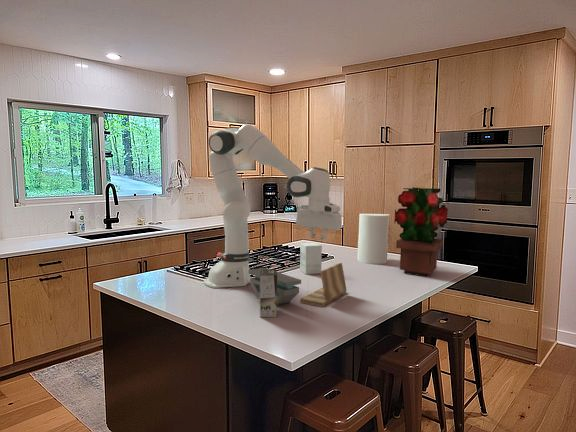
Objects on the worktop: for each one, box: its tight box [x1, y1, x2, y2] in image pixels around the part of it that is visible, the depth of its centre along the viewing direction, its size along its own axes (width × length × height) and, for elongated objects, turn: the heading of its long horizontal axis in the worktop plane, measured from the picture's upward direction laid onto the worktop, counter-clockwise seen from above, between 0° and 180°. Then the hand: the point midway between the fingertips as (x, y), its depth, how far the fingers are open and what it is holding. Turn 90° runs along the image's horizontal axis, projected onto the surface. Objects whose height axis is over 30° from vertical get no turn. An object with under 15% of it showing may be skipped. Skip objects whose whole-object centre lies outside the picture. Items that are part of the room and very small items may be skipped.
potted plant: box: [393, 186, 449, 277], centre depth 233 cm, size 22×22×45 cm
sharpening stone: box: [249, 267, 302, 306], centre depth 182 cm, size 25×8×11 cm, turn 40°
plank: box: [320, 262, 347, 301], centre depth 185 cm, size 18×12×1 cm
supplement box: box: [299, 242, 323, 275], centre depth 230 cm, size 9×9×15 cm
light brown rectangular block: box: [299, 287, 347, 308], centre depth 188 cm, size 24×10×6 cm, turn 149°
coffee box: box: [259, 268, 278, 318], centre depth 166 cm, size 9×6×16 cm
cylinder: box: [357, 213, 390, 265], centre depth 260 cm, size 17×17×28 cm
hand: (317, 238), depth 187 cm, fingers open, 3 cm apart
